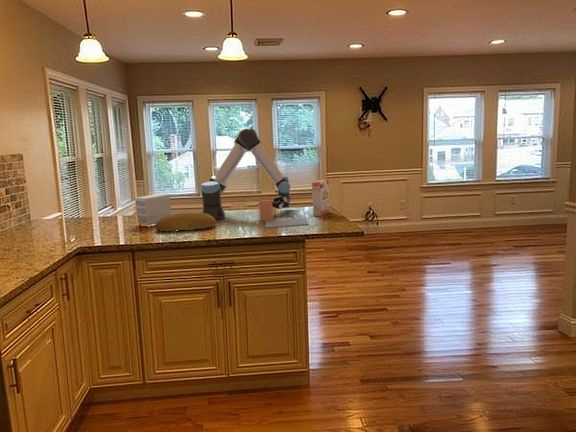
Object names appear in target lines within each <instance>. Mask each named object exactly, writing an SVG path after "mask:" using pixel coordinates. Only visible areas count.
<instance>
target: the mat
mask: <svg viewBox="0 0 576 432" xmlns="http://www.w3.org/2000/svg"><path fill="white" fill-rule="evenodd" d="M264 223H265V224H264V225H265V226H264V228H265V229H272V228H283V227H284V228H285V227H299V226H309V225H310V224H309V222H308V220H307V218H306V217H301V218H290V219H289V218H288V219H276V220H275V219H273V220H272V221H264Z"/></svg>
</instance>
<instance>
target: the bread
mask: <svg viewBox="0 0 576 432" xmlns="http://www.w3.org/2000/svg"><path fill="white" fill-rule="evenodd" d="M216 223H217V221H216V220H215V219H214V217H212V216H211V215H209V214H206V213H202V212H199V211H190V212H189V211H188V212H187V211H186V212H185V211H184V212H173V213H172V214H169V215H166V216H164V217H162V218H161V219H159V220H158V222H157V223H156V225H155V226H154V227H155V229H156V230H157V231H158V230H160V231H159V232H163V231H166V232H168V231H176V230H192V231H196V230H195V229H197V230H205V229H209V228H212V227H215V226H216Z"/></svg>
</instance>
